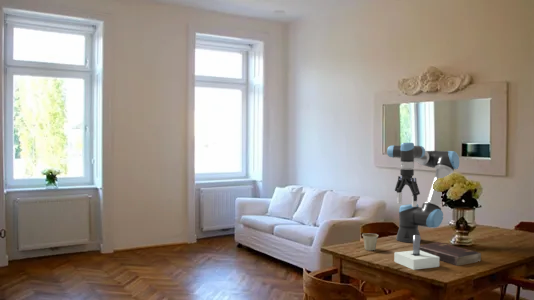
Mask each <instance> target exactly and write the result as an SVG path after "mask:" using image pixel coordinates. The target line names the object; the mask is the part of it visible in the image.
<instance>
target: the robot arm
mask: <svg viewBox="0 0 534 300" xmlns="http://www.w3.org/2000/svg"><path fill="white" fill-rule="evenodd" d="M386 154H387V156H388V157H389V158H393V159H394V158H395V159H396V158H397V159H400V170H399V171H400V173H399V174H400V176H399V175H398V176H397V177H398V178H397V182H396V185H395V188H394V192H396V198H397V202H396V203H397V204H399V205H400V206H399V212H398V215H399V216H398V217H399V218H398V219H399V220H398V227H399V228H398V230H397V234H396V237H395V240H396V241H398V242H402V243H412V244H413V235H420V242H421V240H422V237H421V234H420V230H419V227H420V226H421V227H427V228H430V229H431V228H433V229H435V228H439V226H441V224H442V223H443V219H444V211H442V207H441V204H442V200H443V198H441V196H442V192H437V191H435V190H434V189H433V184H434V182H435V181H436V180H437V179H438V178H443V177H445V176H447V175H449V174H450V175H452V174H453V173H454V170H457V169H459V168H460V156H459V154H458V153H457V151H454V150H425V147H424V146H422V145H415V143H413V142H401V144H400V145H395V144H392V145H389V146H388V147H387V150H386ZM415 163H418V165H421V166H425V167H428V168H433V169H434V170H435V173H434V176H433V179H432V182H431V186H430V189H429V192H428V194H427V198H426V201H424V202H423V203H422V205H421V206H419V204H418V203H417V202H418V195H421V192H420V189H419V187H418V183H417V182H418V181H417V178H416V177H413V176H414V173H415V170H414V168H415ZM451 173H452V174H451ZM450 175H449V176H450ZM405 186H408V187H409V190H410V191H411V193H412V195H411V203H409V204H403V190H404V188H405ZM401 204H402V205H401Z"/></svg>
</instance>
